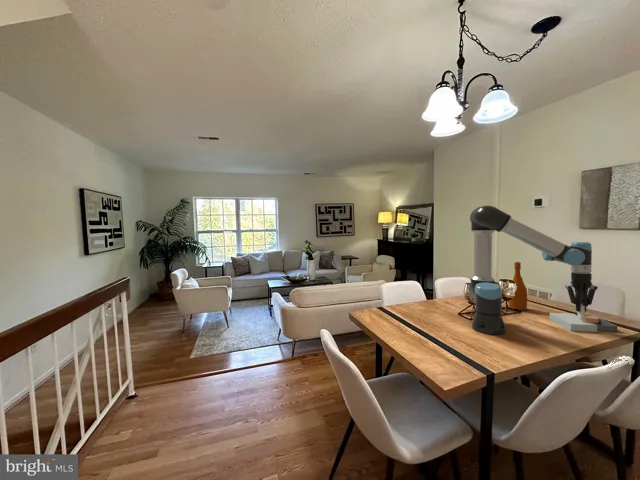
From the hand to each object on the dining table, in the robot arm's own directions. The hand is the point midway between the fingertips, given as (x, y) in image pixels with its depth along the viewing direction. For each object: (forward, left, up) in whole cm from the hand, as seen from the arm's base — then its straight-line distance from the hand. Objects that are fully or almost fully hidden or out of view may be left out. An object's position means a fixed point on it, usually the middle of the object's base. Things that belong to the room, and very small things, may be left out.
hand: (581, 317), depth 140 cm
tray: (+8, +4, -5) cm, 11 cm away
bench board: (-2, +4, -5) cm, 7 cm away
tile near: (+3, 0, -2) cm, 4 cm away
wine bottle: (-16, +32, -5) cm, 36 cm away
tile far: (+9, +9, -2) cm, 13 cm away
